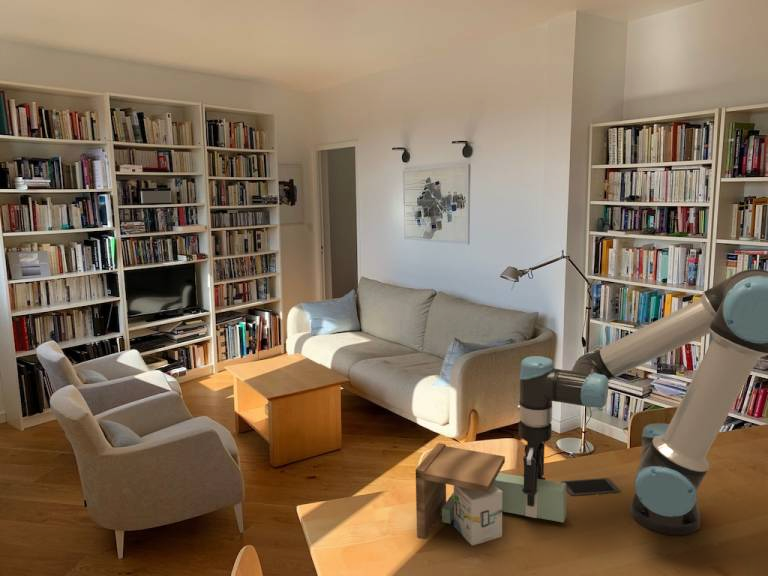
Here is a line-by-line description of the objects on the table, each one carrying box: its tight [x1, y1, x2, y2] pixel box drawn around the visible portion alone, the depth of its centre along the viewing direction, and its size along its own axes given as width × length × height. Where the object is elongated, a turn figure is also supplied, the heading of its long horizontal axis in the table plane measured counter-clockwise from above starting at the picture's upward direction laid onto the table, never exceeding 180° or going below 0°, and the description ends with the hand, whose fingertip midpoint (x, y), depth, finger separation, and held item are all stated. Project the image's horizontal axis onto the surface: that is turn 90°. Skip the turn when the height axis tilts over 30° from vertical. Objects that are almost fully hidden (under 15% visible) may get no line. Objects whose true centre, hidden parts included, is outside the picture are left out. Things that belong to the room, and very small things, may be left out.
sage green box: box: [441, 472, 568, 524], centre depth 141 cm, size 27×14×8 cm, turn 64°
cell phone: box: [561, 477, 621, 497], centre depth 156 cm, size 7×14×1 cm, turn 95°
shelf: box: [415, 442, 506, 540], centre depth 138 cm, size 17×15×17 cm
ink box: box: [453, 484, 503, 546], centre depth 137 cm, size 8×8×12 cm
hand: (533, 510), depth 143 cm, fingers closed on sage green box, 4 cm apart
